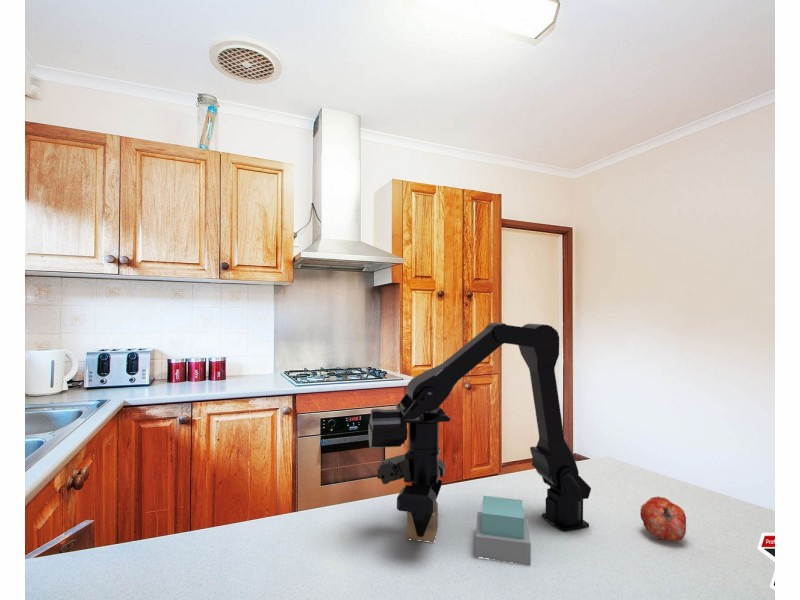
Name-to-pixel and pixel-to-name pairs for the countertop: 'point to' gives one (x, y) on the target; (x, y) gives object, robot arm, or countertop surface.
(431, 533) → the walnut cube
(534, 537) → the countertop surface
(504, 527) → the teal block
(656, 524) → the pomegranate
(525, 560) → the slate block
